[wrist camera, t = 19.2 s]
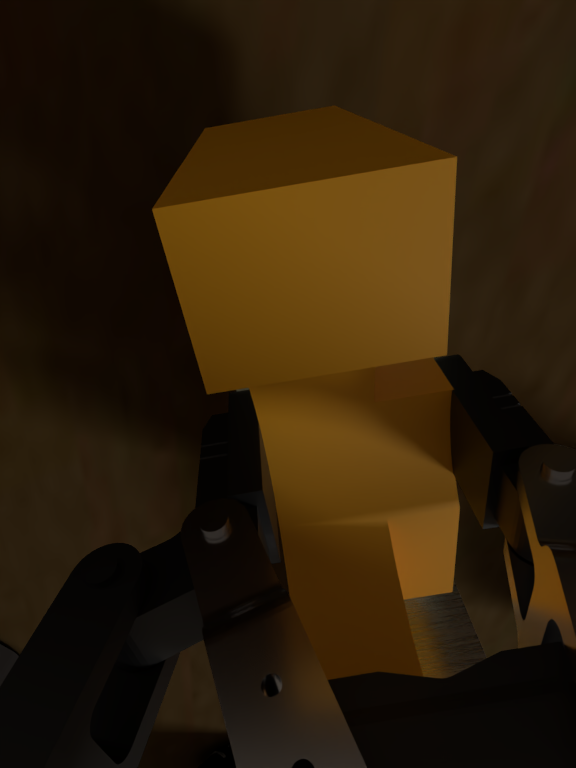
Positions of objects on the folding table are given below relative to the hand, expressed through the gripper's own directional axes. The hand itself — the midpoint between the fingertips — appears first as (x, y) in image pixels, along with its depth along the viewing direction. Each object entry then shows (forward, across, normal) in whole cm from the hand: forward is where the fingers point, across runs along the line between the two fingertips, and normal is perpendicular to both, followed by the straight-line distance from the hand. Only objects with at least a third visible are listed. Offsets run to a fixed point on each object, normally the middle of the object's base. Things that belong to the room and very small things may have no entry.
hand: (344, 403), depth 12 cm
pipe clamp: (+1, 0, -1) cm, 1 cm away
